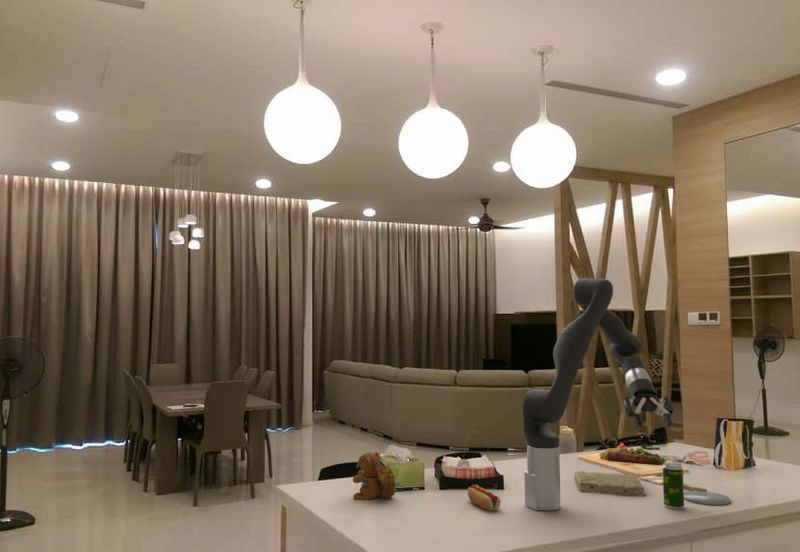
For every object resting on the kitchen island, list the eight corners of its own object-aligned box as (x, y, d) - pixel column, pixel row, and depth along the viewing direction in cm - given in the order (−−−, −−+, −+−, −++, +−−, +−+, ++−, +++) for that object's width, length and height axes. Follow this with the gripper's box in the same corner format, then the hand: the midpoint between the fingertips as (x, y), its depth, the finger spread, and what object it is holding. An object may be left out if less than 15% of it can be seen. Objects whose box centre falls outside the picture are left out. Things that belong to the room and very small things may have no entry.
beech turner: (711, 492, 198) (710, 488, 198) (699, 494, 195) (698, 490, 195) (651, 477, 217) (651, 473, 217) (639, 479, 214) (639, 476, 214)
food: (463, 501, 188) (463, 483, 189) (480, 499, 190) (480, 482, 191) (486, 514, 175) (486, 495, 176) (504, 511, 177) (504, 493, 178)
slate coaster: (706, 507, 181) (706, 504, 181) (672, 495, 193) (672, 493, 193) (740, 502, 186) (740, 500, 186) (705, 491, 198) (705, 489, 198)
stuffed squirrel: (364, 490, 199) (364, 448, 200) (404, 496, 193) (404, 452, 194) (347, 498, 190) (347, 453, 191) (389, 504, 184) (389, 458, 185)
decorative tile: (574, 480, 215) (574, 469, 215) (636, 483, 211) (636, 472, 211) (578, 494, 197) (577, 482, 197) (646, 498, 193) (646, 486, 193)
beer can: (679, 504, 184) (677, 462, 185) (687, 509, 179) (686, 466, 180) (660, 504, 184) (659, 462, 185) (668, 509, 179) (667, 466, 180)
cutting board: (574, 459, 248) (574, 440, 249) (621, 455, 257) (621, 436, 258) (640, 480, 216) (639, 457, 217) (691, 473, 225) (690, 452, 226)
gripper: (620, 377, 205) (635, 419, 192) (664, 377, 205) (681, 418, 192) (615, 392, 210) (629, 433, 197) (658, 392, 210) (674, 433, 197)
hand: (655, 426), depth 195 cm, fingers open, 8 cm apart
